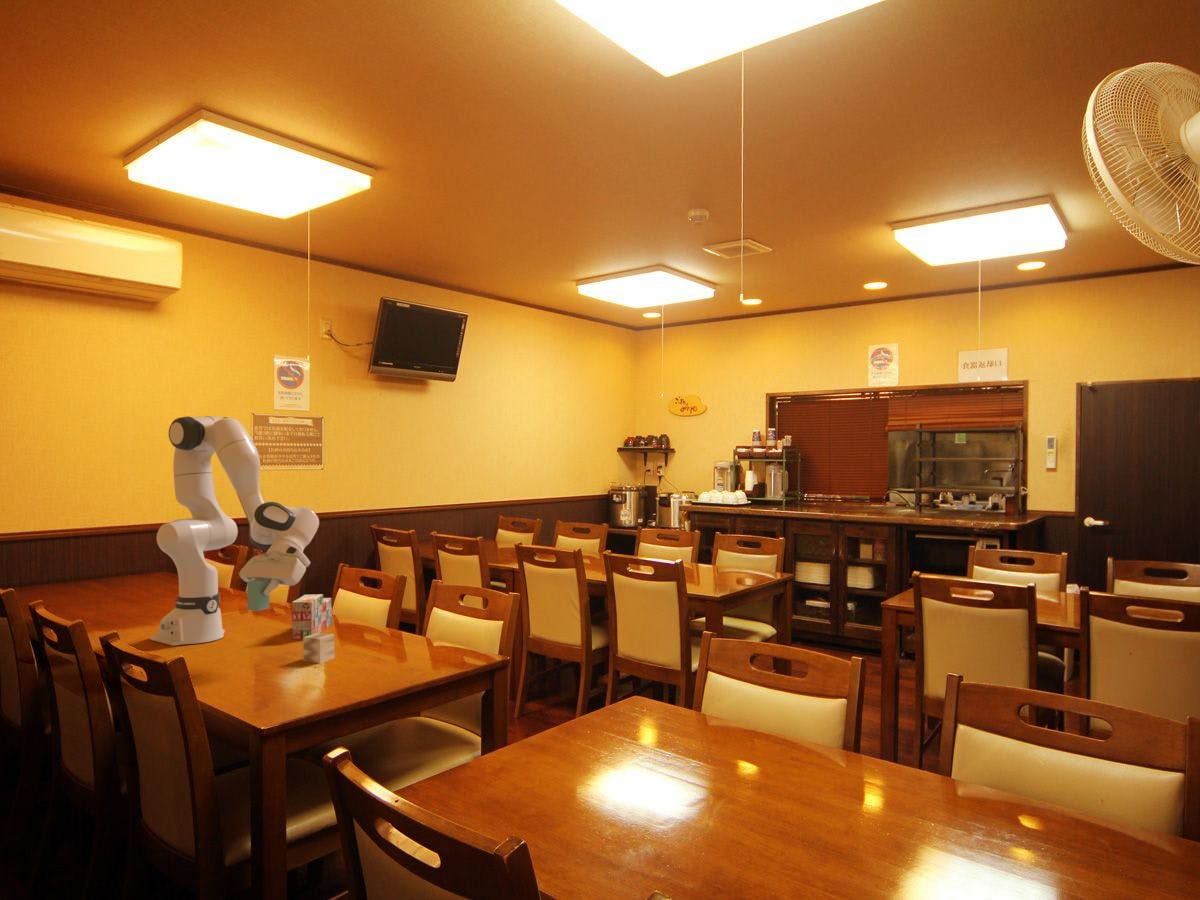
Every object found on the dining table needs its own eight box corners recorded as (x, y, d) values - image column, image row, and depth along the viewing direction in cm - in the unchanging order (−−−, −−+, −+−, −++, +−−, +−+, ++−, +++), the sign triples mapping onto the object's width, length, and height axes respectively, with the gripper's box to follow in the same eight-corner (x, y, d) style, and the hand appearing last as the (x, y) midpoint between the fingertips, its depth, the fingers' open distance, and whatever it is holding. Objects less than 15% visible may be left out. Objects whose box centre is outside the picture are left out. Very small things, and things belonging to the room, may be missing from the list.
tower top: (303, 649, 216) (303, 637, 216) (317, 644, 222) (317, 632, 222) (320, 651, 214) (320, 639, 214) (334, 646, 220) (334, 634, 220)
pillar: (247, 610, 213) (247, 581, 213) (258, 607, 217) (258, 579, 217) (258, 611, 212) (258, 582, 212) (269, 608, 216) (269, 580, 216)
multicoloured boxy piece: (313, 624, 263) (313, 589, 263) (332, 624, 263) (332, 589, 263) (291, 639, 241) (291, 601, 241) (311, 639, 241) (311, 601, 241)
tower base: (303, 661, 216) (303, 649, 216) (318, 656, 222) (318, 644, 222) (320, 663, 214) (320, 651, 214) (334, 658, 220) (334, 646, 220)
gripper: (250, 547, 225) (223, 585, 216) (303, 550, 217) (277, 589, 208) (262, 560, 229) (236, 598, 220) (315, 563, 221) (289, 602, 212)
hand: (256, 594), depth 214 cm, fingers closed on pillar, 4 cm apart
